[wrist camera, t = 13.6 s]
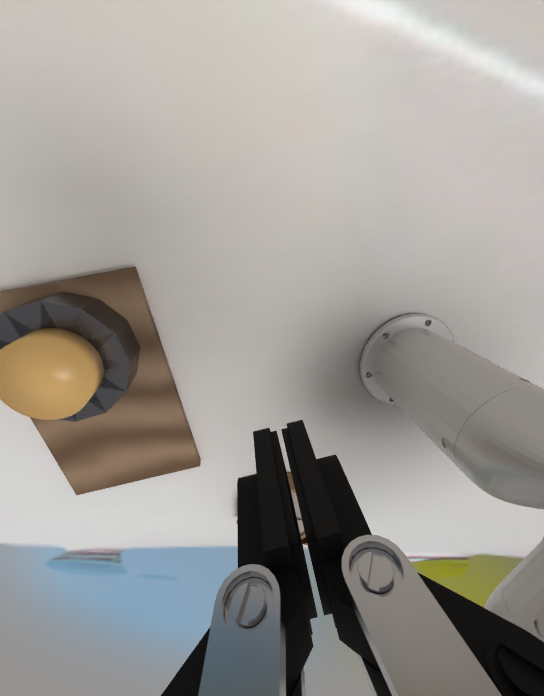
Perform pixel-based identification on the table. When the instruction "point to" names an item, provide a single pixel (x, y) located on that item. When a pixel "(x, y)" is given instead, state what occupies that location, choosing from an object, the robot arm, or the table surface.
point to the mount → (130, 410)
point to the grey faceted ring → (93, 325)
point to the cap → (49, 373)
